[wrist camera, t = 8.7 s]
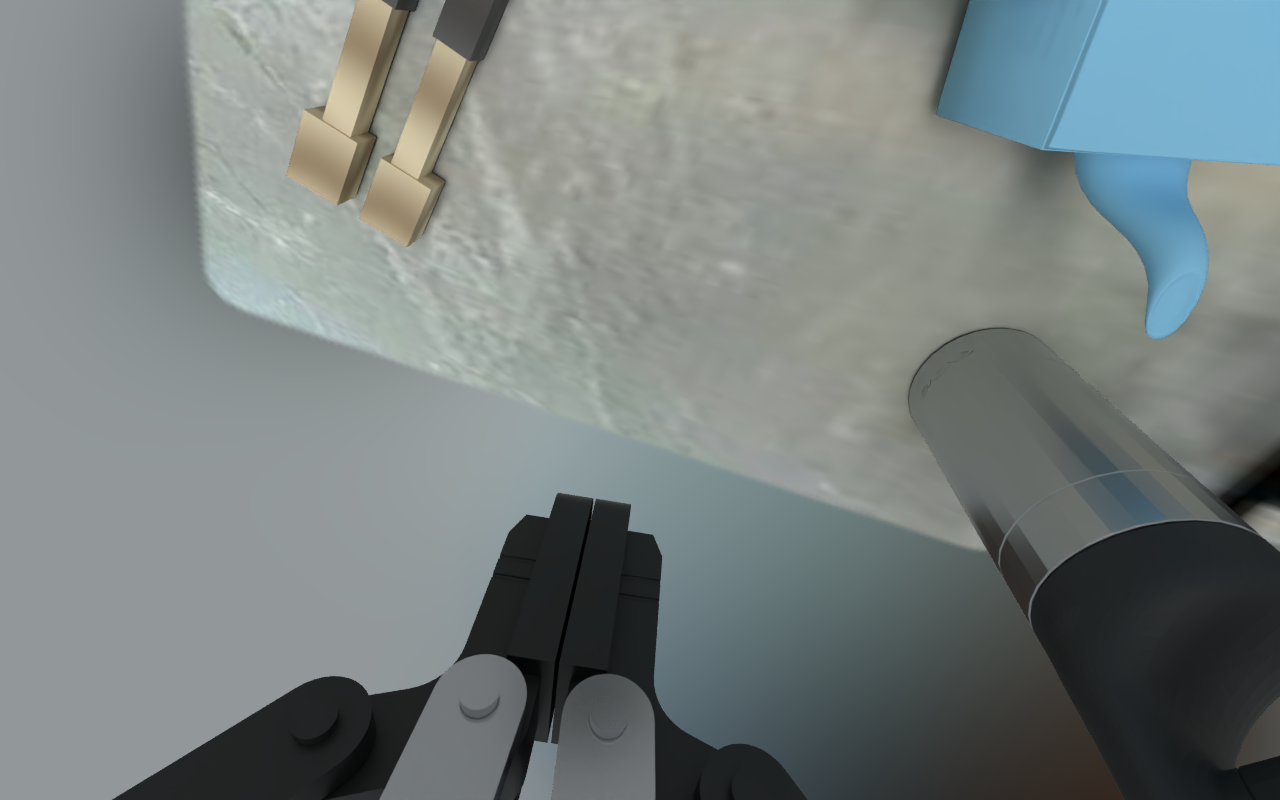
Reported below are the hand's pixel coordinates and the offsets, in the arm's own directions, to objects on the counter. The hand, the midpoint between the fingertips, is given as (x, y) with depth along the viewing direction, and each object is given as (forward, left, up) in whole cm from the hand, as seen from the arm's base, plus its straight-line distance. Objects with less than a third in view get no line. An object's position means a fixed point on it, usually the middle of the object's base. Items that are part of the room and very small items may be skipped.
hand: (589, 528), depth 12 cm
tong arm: (+13, +1, -27) cm, 30 cm away
